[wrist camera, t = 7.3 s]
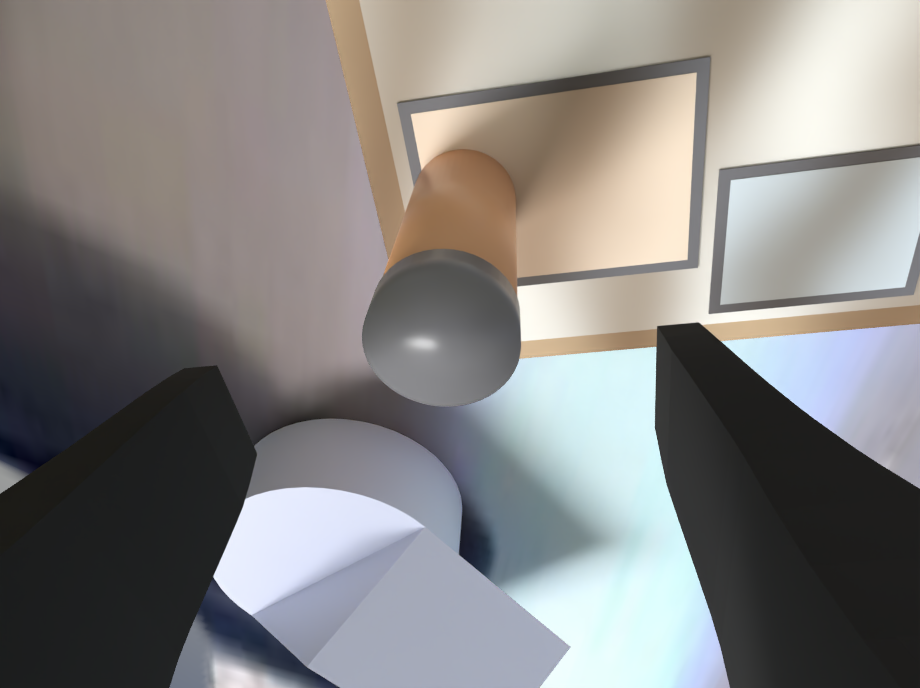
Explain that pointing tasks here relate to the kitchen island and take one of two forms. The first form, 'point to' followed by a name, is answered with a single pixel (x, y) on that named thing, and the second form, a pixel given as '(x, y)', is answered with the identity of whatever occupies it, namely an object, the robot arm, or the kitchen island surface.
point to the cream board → (662, 154)
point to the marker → (450, 287)
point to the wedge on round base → (373, 566)
